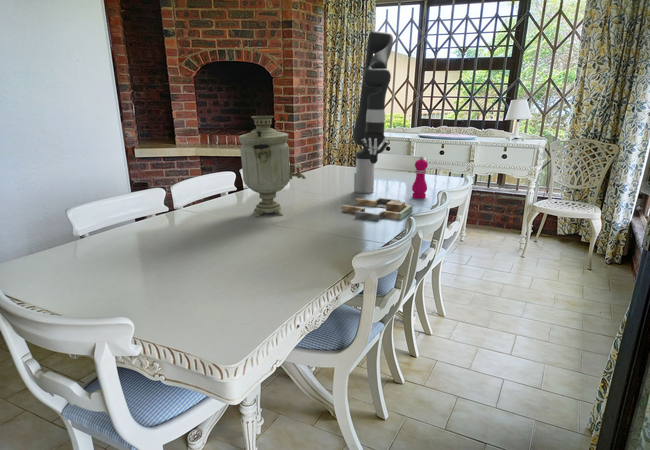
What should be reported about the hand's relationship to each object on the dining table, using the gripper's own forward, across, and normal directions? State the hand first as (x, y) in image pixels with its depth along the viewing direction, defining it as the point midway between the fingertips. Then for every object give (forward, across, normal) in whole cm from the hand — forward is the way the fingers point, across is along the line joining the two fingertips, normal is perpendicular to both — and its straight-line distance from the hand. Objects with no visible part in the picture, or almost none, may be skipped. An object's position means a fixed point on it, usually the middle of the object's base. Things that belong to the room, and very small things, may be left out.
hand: (373, 163), depth 177 cm
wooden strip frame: (+21, +3, 0) cm, 21 cm away
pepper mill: (+21, +11, +33) cm, 41 cm away
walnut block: (+21, +11, 0) cm, 23 cm away
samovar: (+21, -35, -24) cm, 47 cm away
